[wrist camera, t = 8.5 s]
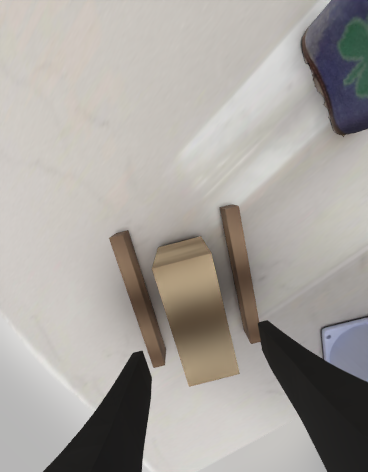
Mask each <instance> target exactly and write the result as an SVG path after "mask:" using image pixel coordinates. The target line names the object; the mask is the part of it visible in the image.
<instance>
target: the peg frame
mask: <svg viewBox="0 0 368 472" xmlns="http://www.w3.org/2000/svg"><path fill="white" fill-rule="evenodd" d="M220 212H221V217H222V222H223V227H224V232H225V237H226V242H227V247H228V252H229V257H230V262H231V267H232V272H233V277H234V282H235V287H236V292H237V297H238V302H239V307H240V312H241V317H242V322H243V327H244V331H245V333H246V335H247V337H248V339H249V341H250V343H251V344H253V343H257V342H261V340H260V334H259V329H258V323H259V318H258V313H257V307H256V301H255V296H254V290H253V284H252V279H251V273H250V267H249V262H248V256H247V250H246V245H245V239H244V233H243V228H242V222H241V216H240V210H239V206H237V205H228V206H224V207H220ZM109 239H110V242H111V245H112V248H113V251H114V254H115V257H116V260H117V263H118V266H119V269H120V271H121V274H122V277H123V280H124V283H125V286H126V289H127V292H128V295H129V298H130V301H131V304H132V306H133V309H134V312H135V315H136V318H137V321H138V324H139V327H140V330H141V333H142V336H143V339H144V341H145V344H146V347H147V350H148V353H149V356H150V359H151V362H152V365H153V368H155V367H159V366H163V365H165V356H166V349H165V345H164V342H163V339H162V336H161V333H160V330H159V326H158V323H157V320H156V317H155V314H154V311H153V307H152V304H151V301H150V298H149V295H148V292H147V288H146V285H145V282H144V279H143V276H142V273H141V270H140V266H139V263H138V260H137V257H136V254H135V251H134V247H133V244H132V241H131V238H130V235H129V232H128V230H127V231H123V232H119V233H116V234H114V235H113V236H112V237H110V238H109Z"/></svg>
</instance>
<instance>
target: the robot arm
mask: <svg viewBox="0 0 368 472" xmlns="http://www.w3.org/2000/svg"><path fill="white" fill-rule="evenodd" d="M258 329H259V334H260V340H261V345H262V351H263V353H264V355H265V357H266V359H267V361H268V363H269V366H270V368H271V369H272V371H273V373H274V375H275V376H276V378H277V380H278V381H279V383H280V385H281V386H282V388H283V390H284V391H285V393H286V395H287V396H288V398H289V400H290V401H291V403H292V405H293V406H294V408H295V410H296V411H297V413H298V415H299V417H300V418H301V420H302V422H303V424H304V426H305V428H306V430H307V432H308V433H309V436H310V438H311V440H312V442H313V444H314V445H315V448H316V450H317V452H318V454H319V456H320V458H321V460H322V462H323V464H324V465H325V468H326V470H327V472H368V317H367V318H363V319H359V320H355V321H351V322H347V323H343V324H338V325H334V326H330V327H326V328H324V329H323V330H322V341H323V352H324V359H322V358H320V357H319V356H317V355H315V354H314V353H312V352H311V351H309V350H307V349H306V348H304V347H303V346H301V345H300V344H299V343H297V342H296V341H294V340H293V339H291V338H290V337H289V336H287V335H286V334H285V333H283V332H282V331H281V330H279V329H278V328H277V327H275V326H274V325H273V324H272V323H270V322H269V321H263V322H259V323H258ZM151 384H152V377H151V374H150V371H149V368H148V365H147V362H146V359H145V357H144V354H143V351H139V352H135V353H133V354H132V355H131V357H130V358H129V360H128V362H127V363H126V365H125V367H124V368H123V370H122V372H121V373H120V375H119V376H118V378H117V380H116V381H115V383H114V384H113V386H112V388H111V389H110V391H109V392H108V394H107V395H106V397H105V398H104V399H103V401H102V402H101V404H100V405H99V407H98V408H97V409H96V411H95V412H94V414H93V415H92V416H91V417H90V419H89V420H88V421H87V423H86V424H85V425H84V427H83V428H82V429H81V430H80V431H79V432H78V434H77V435H76V436H75V437H74V438H73V439H72V441H71V442H70V443H69V444H68V445H67V446H66V448H65V449H64V450H63V451H62V452H61V453H60V454H59V455H58V457H56V459H55V460H54V461H53V462H52V463H51V464H50V465H49V466H48V467H47V468H46V469H45V470H44V471H43V472H142V459H143V450H144V443H145V436H146V429H147V422H148V415H149V408H150V400H151Z"/></svg>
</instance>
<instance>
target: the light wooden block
mask: <svg viewBox="0 0 368 472" xmlns="http://www.w3.org/2000/svg"><path fill="white" fill-rule="evenodd" d="M152 271H153V274H154V277H155V280H156V283H157V287H158V290H159V293H160V296H161V299H162V302H163V306H164V309H165V312H166V315H167V318H168V321H169V325H170V328H171V331H172V334H173V337H174V341H175V344H176V347H177V350H178V353H179V356H180V360H181V363H182V366H183V369H184V372H185V375H186V379H187V382H188V385H189V387H190V386H194V385H198V384H202V383H206V382H210V381H214V380H217V379H221V378H225V377H229V376H233V375H237V374H240V373H239V369H238V365H237V360H236V356H235V352H234V348H233V343H232V339H231V335H230V331H229V326H228V322H227V318H226V313H225V309H224V305H223V301H222V296H221V292H220V288H219V284H218V279H217V275H216V271H215V266H214V262H213V258H212V254H211V252H210V250H209V249H208V247H207V245H206V244H205V242H204V240H203V239H202V237H201V236H200V237H196V238H193V239H189V240H185V241H181V242H177V243H173V244H170V245H166V246H162V247H158V250H157V253H156V256H155V260H154V263H153V267H152Z"/></svg>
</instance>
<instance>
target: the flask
mask: <svg viewBox="0 0 368 472" xmlns="http://www.w3.org/2000/svg"><path fill="white" fill-rule="evenodd" d="M302 46H303V47H302V48H303V49H302V50H303V55H304V60H305V63H306V64H307V63H309V66H310V68H311V71H312V73H313V74H312V76H313V77H314V78H313V80H314V82H315V87H316V88H317V91H318V92H319V93H321V95H323V96H324V98H325V103H324V104H323V105H325V107H327V108H328V110H329V117H328V118H330V120H331V123H332V126H333V131H334V132H336V133H337V134H339V135H342V136H343V137H344V135H345V134H350V133H356V132H359V131H362V130H365V129H368V0H331V1H330V2H329V4H328V5H327V6H326V7H325V8H324V10H323V11H322V12H321V13H320V14H319V16H318V17H317V18H316V19H315V20H314V21H313V22H312V24H311V25H310V26H309V27H308V28H307V30H306V32H305V34H304V36H303V37H302Z"/></svg>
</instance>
